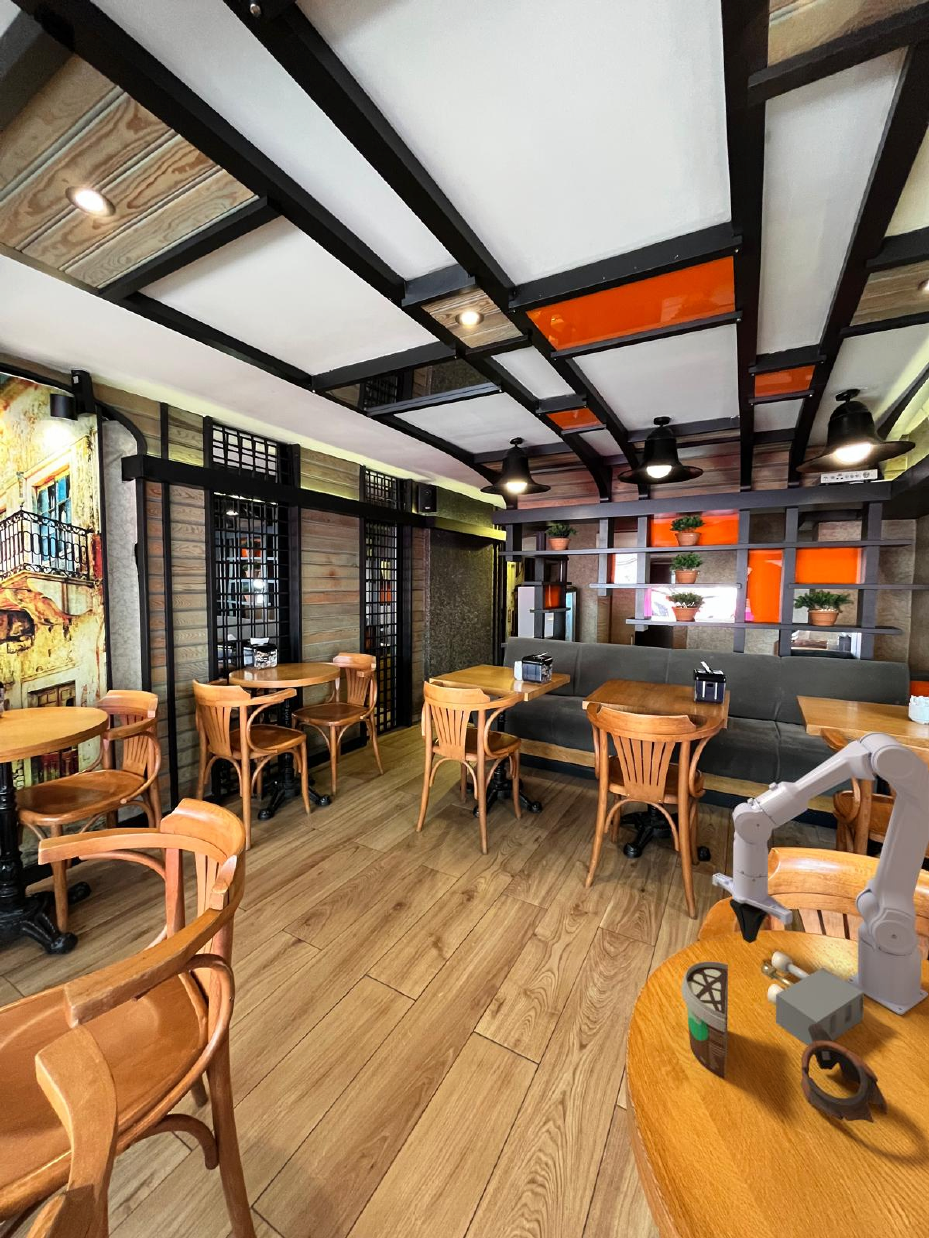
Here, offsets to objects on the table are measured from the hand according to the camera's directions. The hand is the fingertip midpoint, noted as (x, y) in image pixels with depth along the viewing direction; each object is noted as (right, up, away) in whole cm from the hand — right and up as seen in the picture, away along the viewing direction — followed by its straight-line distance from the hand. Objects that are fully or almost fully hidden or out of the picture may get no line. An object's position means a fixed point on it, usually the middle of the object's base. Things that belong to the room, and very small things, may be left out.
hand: (749, 939), depth 95 cm
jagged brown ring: (-3, -4, -27) cm, 27 cm away
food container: (-18, -4, -19) cm, 26 cm away
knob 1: (-2, -2, -16) cm, 16 cm away
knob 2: (+4, -2, -8) cm, 9 cm away
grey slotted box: (+3, -4, -15) cm, 15 cm away
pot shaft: (0, -2, -10) cm, 10 cm away
